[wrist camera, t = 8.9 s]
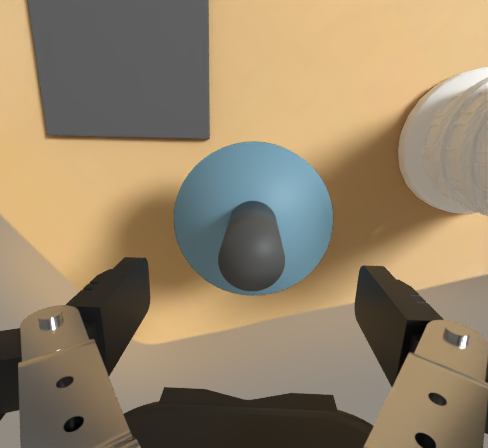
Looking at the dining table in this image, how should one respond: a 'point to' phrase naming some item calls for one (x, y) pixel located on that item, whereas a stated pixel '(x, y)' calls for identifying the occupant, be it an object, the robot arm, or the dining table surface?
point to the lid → (253, 218)
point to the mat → (123, 67)
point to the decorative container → (449, 145)
